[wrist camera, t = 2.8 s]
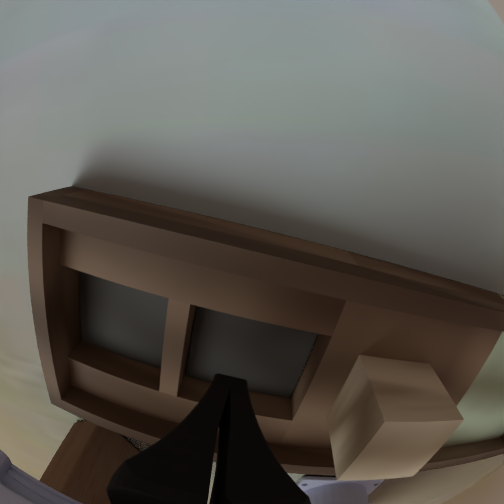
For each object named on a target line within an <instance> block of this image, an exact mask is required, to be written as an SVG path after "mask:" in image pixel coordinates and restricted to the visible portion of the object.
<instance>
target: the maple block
mask: <svg viewBox="0 0 504 504" xmlns="http://www.w3.org/2000/svg"><path fill="white" fill-rule="evenodd" d="M326 418H327V423H328V429H329V435H330V441H331V447H332V453H333V460H334V466H335V473H336V479H337V481H354V480H379V479H392V478H403V477H412V476H414V475H415V474H416V473H417V472H418V471H419V470H420V469H421V468H422V467H423V466H424V465H425V464H426V463H427V462H428V461H429V460H430V459H431V457H432V456H433V455H434V454H435V453H436V452H437V451H438V450H439V449H440V448H441V447H442V445H443V444H444V443H445V442H446V441H447V440H448V439H449V437H450V436H451V435H452V434H453V433H454V431H455V430H456V429H457V428H458V427H459V425H460V424H461V423H462V422H463V420H464V419H463V417H462V415H461V413H460V412H459V410H458V408H457V407H456V405H455V403H454V402H453V400H452V398H451V397H450V395H449V393H448V392H447V390H446V389H445V387H444V385H443V384H442V382H441V381H440V379H439V378H438V376H437V374H436V373H435V371H434V370H433V368H432V367H431V365H430V364H429V363H419V362H410V361H402V360H394V359H386V358H379V357H372V356H365V355H359V356H358V359H357V361H356V362H355V364H354V366H353V368H352V370H351V372H350V374H349V376H348V378H347V380H346V382H345V384H344V386H343V387H342V389H341V391H340V393H339V395H338V396H337V398H336V400H335V402H334V404H333V405H332V407H331V409H330V410H329V412H328V414H327V416H326Z"/></svg>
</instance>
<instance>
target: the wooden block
mask: <svg viewBox="0 0 504 504" xmlns="http://www.w3.org/2000/svg"><path fill="white" fill-rule="evenodd" d="M138 453H140V451H139V450H138V449H137V448H135V447H134V446H133V445H132V444H131V443H130V442H129V441H128V440H127V439H126V438H124V437H123V436H122V435H121V434H119V433H116V432H113V431H111V430H108V429H106V428H103V427H101V426H99V425H96V424H94V423H92V422H89V421H81V422H76V423H74V425H73V426H72V428H71V429H70V431H69V433H68V434H67V436H66V437H65V439H64V441H63V442H62V444H61V445H60V447H59V449H58V450H57V452H56V453H55V455H54V457H53V458H52V460H51V462H50V463H49V465H48V467H47V469H46V470H45V472H44V474H43V475H42V477H41V479H40V482H42V483H44V484H46V485H47V486H49V487H51V488H53V489H55V490H56V491H58V492H60V493H62V494H64V495H66V496H68V497H70V498H72V499H74V500H76V501H78V502H80V503H83V504H111V503H110V500H109V497H108V495H107V492H106V489H107V486H108V484H109V481H110V479H111V477H112V476H113V474H114V473H115V471H116V470H117V469H118V467H119V466H120V465H121V464H122V463H123V462H124V461H125V460H126V459H128V458H130V457H132V456H134V455H136V454H138Z"/></svg>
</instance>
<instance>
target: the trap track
mask: <svg viewBox="0 0 504 504" xmlns="http://www.w3.org/2000/svg"><path fill="white" fill-rule="evenodd" d="M27 241H28V269H29V283H30V294H31V303H32V312H33V319H34V326H35V332H36V338H37V344H38V349H39V355H40V359H41V364H42V369H43V373H44V377H45V381H46V385H47V389H48V393H49V397H50V400H51V403H52V404H54V405H56V406H58V407H60V408H62V409H64V410H66V411H68V412H70V413H72V414H74V415H76V416H78V417H80V418H83V419H85V420H87V421H89V422H92V423H94V424H96V425H99V426H101V427H103V428H106V429H108V430H111V431H113V432H116V433H119V434H121V435H124V436H127V437H130V438H132V439H135V440H138V441H141V442H144V443H147V444H150V445H153V444H154V443H156V442H157V441H159V440H160V439H162V438H163V437H164V436H166V435H167V434H168V433H169V432H170V431H172V430H173V429H174V428H175V427H176V426H177V425H178V424H179V423H181V422H182V421H183V420H184V419H185V417H186V416H187V415H188V414H189V413H190V412H191V411H192V410H193V409H194V407H195V406H196V405H197V404H198V402H199V401H200V400H201V398H202V397H203V396H204V394H205V393H206V391H207V390H208V388H209V386H210V385H211V383H212V381H213V378H214V375H215V374H217V373H219V374H223V375H227V376H232V377H236V378H241V379H245V380H246V381H247V384H248V391H249V396H250V400H251V403H252V407H253V410H254V413H255V416H256V419H257V421H258V424H259V426H260V429H261V431H262V433H263V435H264V438H265V440H266V442H267V443H268V445H269V447H270V449H271V451H272V452H273V454H274V456H275V457H276V459H277V460H278V462H279V463H280V464H281V466H282V467H283V468H284V470H285V471H286V473H296V474H311V475H336V473H335V466H334V460H333V453H332V447H331V441H330V435H329V429H328V423H327V418H326V416H327V414H328V412H329V410H330V409H331V407H332V405H333V404H334V402H335V400H336V398H337V396H338V395H339V393H340V391H341V389H342V387H343V386H344V384H345V382H346V380H347V378H348V376H349V374H350V372H351V370H352V368H353V366H354V364H355V362H356V361H357V359H358V356H359V355H365V356H372V357H379V358H386V359H394V360H402V361H410V362H419V363H429V364H430V365H431V367H432V368H433V370H434V371H435V373H436V374H437V376H438V378H439V379H440V381H441V382H442V384H443V385H444V387H445V389H446V390H447V392H448V393H449V395H450V397H451V398H452V400H453V402H454V403H455V405H456V407H457V408H458V410H459V412H460V413H461V415H462V417H463V419H464V420H463V422H462V423H461V424H460V425H459V427H458V428H457V429H456V430H455V431H454V433H453V434H452V435H451V436H450V437H449V439H448V440H447V441H446V442H445V443H444V444H443V445H442V447H441V448H440V449H439V450H438V451H437V452H436V453H435V454H434V455H433V456H432V457H431V459H430V460H429V461H428V462H427V463H426V464H425V465H424V466H423V467H422V468H421V469H420V470H419V471H424V470H431V469H438V468H444V467H449V466H455V465H460V464H465V463H469V462H474V461H478V460H482V459H486V458H490V457H493V456H497V455H500V454H504V296H503V295H500V294H497V293H493V292H490V291H487V290H483V289H480V288H477V287H473V286H470V285H466V284H463V283H460V282H456V281H453V280H449V279H446V278H442V277H439V276H435V275H432V274H428V273H425V272H421V271H418V270H414V269H411V268H407V267H403V266H400V265H396V264H392V263H389V262H385V261H381V260H378V259H374V258H370V257H367V256H363V255H359V254H355V253H352V252H348V251H344V250H340V249H336V248H333V247H329V246H325V245H321V244H317V243H313V242H309V241H305V240H302V239H298V238H294V237H290V236H286V235H282V234H278V233H274V232H270V231H266V230H262V229H257V228H253V227H249V226H245V225H241V224H237V223H233V222H229V221H224V220H220V219H216V218H212V217H207V216H203V215H199V214H195V213H190V212H186V211H182V210H177V209H173V208H168V207H164V206H160V205H155V204H151V203H146V202H142V201H137V200H133V199H128V198H123V197H119V196H114V195H109V194H105V193H100V192H95V191H90V190H86V189H81V188H76V187H66V188H62V189H57V190H53V191H49V192H45V193H41V194H37V195H33V196H29V197H28V224H27ZM196 306H197V312H196V317H195V323H194V329H193V335H192V341H191V347H190V353H189V359H188V365H187V371H186V374H185V370H186V363H187V357H188V351H189V344H190V338H191V332H192V326H193V321H194V315H195V309H196ZM317 334H318V335H317ZM316 336H317V338H316ZM315 339H316V340H315ZM314 341H315V343H314ZM313 344H314V345H313ZM312 346H313V347H312ZM311 348H312V350H311ZM310 351H311V352H310ZM309 353H310V355H309ZM308 356H309V357H308ZM307 358H308V359H307ZM306 360H307V362H306ZM305 363H306V364H305ZM304 365H305V367H304ZM303 368H304V369H303ZM302 370H303V371H302ZM301 372H302V374H301ZM300 374H301V376H300ZM299 377H300V378H299ZM298 379H299V380H298ZM297 381H298V383H297ZM296 384H297V385H296ZM295 386H296V387H295ZM294 388H295V389H294ZM293 390H294V392H293ZM292 393H293V394H292ZM291 395H292V396H291ZM218 436H219V428H218V431H217V437H216V444H215V450H214V457H213V461H214V462H216V461H217V448H218Z"/></svg>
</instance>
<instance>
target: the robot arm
mask: <svg viewBox="0 0 504 504" xmlns="http://www.w3.org/2000/svg"><path fill="white" fill-rule="evenodd" d="M218 428H219V436H218V448H217V461H216V471H215V477H214V482H213V488H212V493H211V498H210V503H209V504H369V500H368V495H369V494H370V493H372V492H373V491H374V490H375V489H376V488H377V487H378V486H379V485H380V484H381V483H382V482H383V481H384V479H379V480H354V481H337V479H336V477H313V476H306V477H303V478H301V480H300V481H299V482H298V483H297V484H296V483H295V482H294V481H293V480H292V479H291V477H290V476H289V475H288V474H287V473H286V471H285V470H284V468H283V467H282V466H281V464H280V463H279V462H278V460H277V459H276V457H275V456H274V454H273V452H272V451H271V449H270V447H269V445H268V443H267V442H266V440H265V438H264V435H263V433H262V431H261V429H260V426H259V424H258V421H257V419H256V416H255V413H254V410H253V407H252V403H251V400H250V396H249V391H248V384H247V381H246V380H245V379H241V378H236V377H232V376H227V375H223V374H219V373H217V374H215V375H214V378H213V381H212V383H211V385H210V386H209V388H208V390H207V391H206V393H205V394H204V396H203V397H202V398H201V400H200V401H199V402H198V404H197V405H196V406H195V407H194V409H193V410H192V411H191V412H190V413H189V414H188V415H187V416H186V417H185V419H184V420H183V421H182V422H181V423H179V424H178V425H177V426H176V427H175V428H174V429H173V430H172V431H170V432H169V433H168V434H167V435H166V436H164V437H163V438H162V439H160V440H159V441H157V442H156V443H154V444H153V445H151V446H150V447H148V448H147V449H145V450H144V451H142V452H140V453H138V454H136V455H134V456H132V457H130V458H128V459H126V460H125V461H124V462H123V463H122V464H121V465H120V466H119V467H118V469H117V470H116V471H115V473H114V474H113V476H112V477H111V479H110V481H109V484H108V486H107V489H106V492H107V495H108V497H109V500H110V503H111V504H207V501H208V495H209V486H210V478H211V471H212V464H213V457H214V450H215V444H216V437H217V431H218ZM0 504H83V503H80V502H78V501H76V500H74V499H72V498H70V497H68V496H66V495H64V494H62V493H60V492H58V491H56V490H55V489H53V488H51V487H49V486H47V485H46V484H44V483H42V482H40V481H39V480H37V479H35V478H34V477H32V476H30V475H29V474H27V473H25V472H24V471H22V470H21V469H19V468H18V467H16V466H15V465H13V464H12V463H11V461H10V459H9V457H8V456H7V455H6V454H5V453H4V452H3V451H1V450H0Z"/></svg>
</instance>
